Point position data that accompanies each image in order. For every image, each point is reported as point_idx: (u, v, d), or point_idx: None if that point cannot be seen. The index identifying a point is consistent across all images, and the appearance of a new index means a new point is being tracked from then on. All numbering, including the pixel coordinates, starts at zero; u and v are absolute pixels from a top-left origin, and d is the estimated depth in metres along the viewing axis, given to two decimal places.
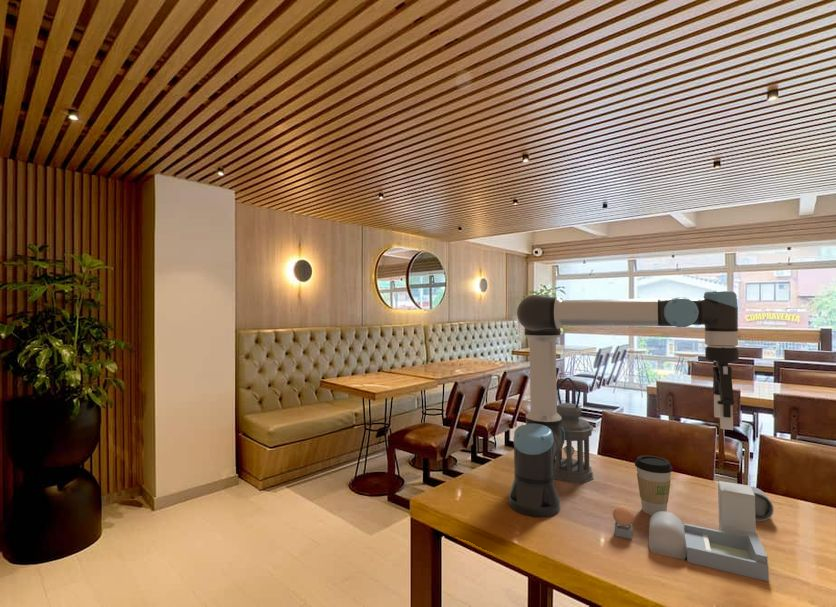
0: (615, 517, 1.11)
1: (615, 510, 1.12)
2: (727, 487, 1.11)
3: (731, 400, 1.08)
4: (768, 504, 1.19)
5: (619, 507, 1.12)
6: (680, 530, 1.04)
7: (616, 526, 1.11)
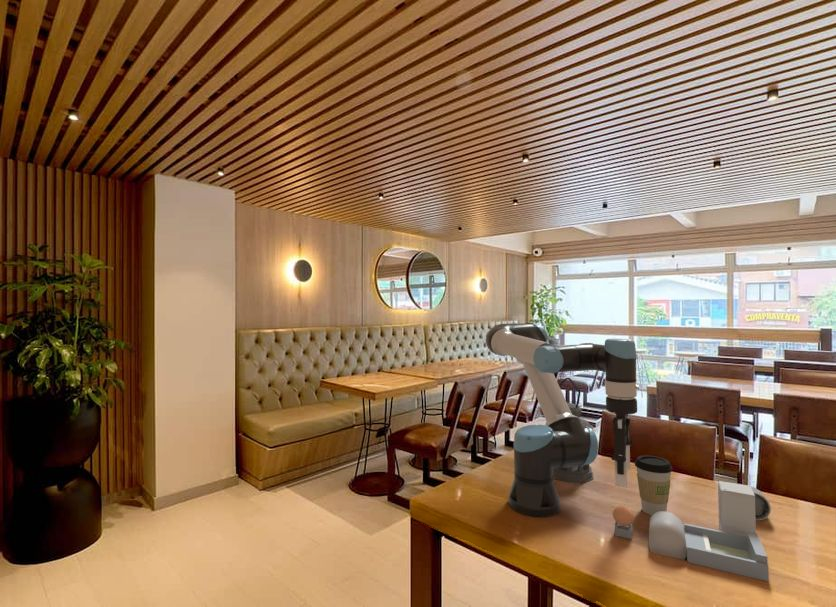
0: (615, 517, 1.11)
1: (615, 510, 1.12)
2: (727, 487, 1.10)
3: (622, 457, 1.03)
4: (765, 504, 1.19)
5: (619, 507, 1.12)
6: (680, 530, 1.04)
7: (616, 526, 1.11)
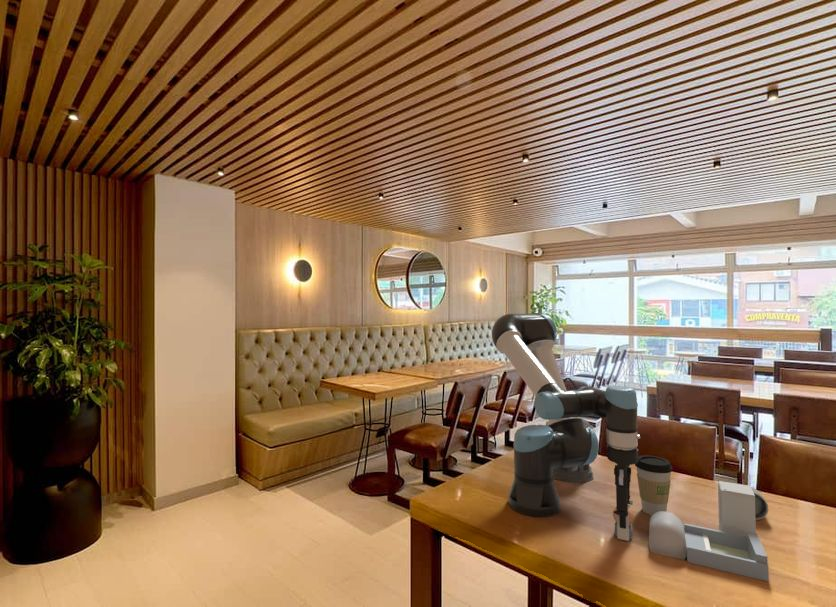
0: (615, 517, 1.11)
1: (615, 510, 1.12)
2: (727, 487, 1.10)
3: (625, 514, 1.06)
4: (763, 503, 1.20)
5: None
6: (680, 530, 1.04)
7: (616, 526, 1.11)
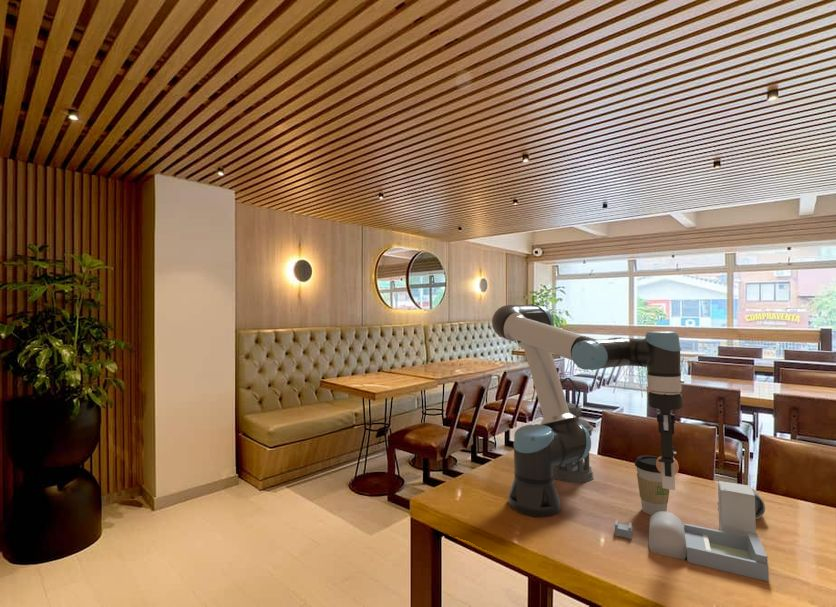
0: (659, 467, 1.06)
1: None
2: (727, 487, 1.11)
3: (671, 460, 1.01)
4: (760, 503, 1.20)
5: None
6: (680, 530, 1.04)
7: (616, 526, 1.11)
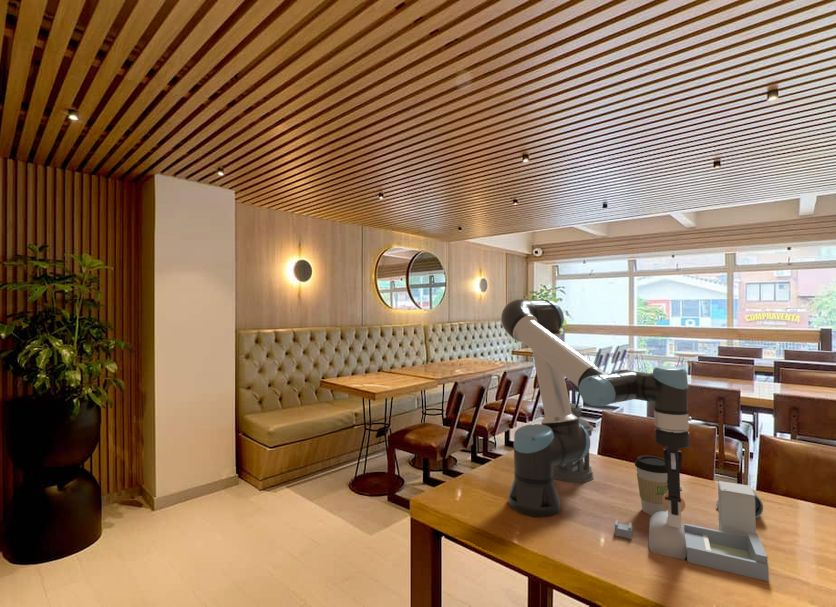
0: (665, 504, 1.05)
1: (665, 496, 1.06)
2: (727, 487, 1.10)
3: (678, 499, 1.00)
4: (758, 502, 1.20)
5: None
6: (680, 530, 1.04)
7: (616, 526, 1.11)
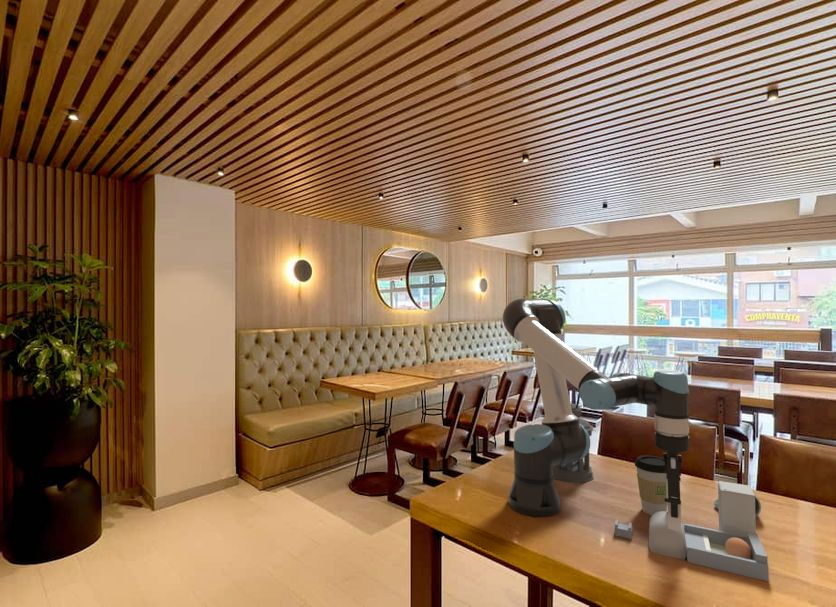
0: (731, 555, 0.98)
1: (727, 547, 0.99)
2: (727, 487, 1.10)
3: (678, 500, 0.97)
4: (756, 502, 1.20)
5: (729, 542, 0.99)
6: None
7: (616, 526, 1.11)
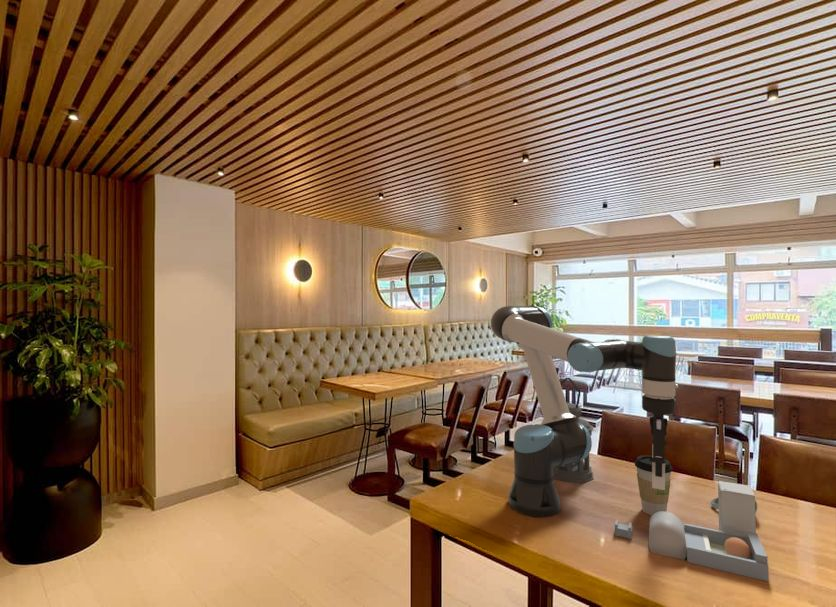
0: (731, 555, 0.98)
1: (726, 547, 1.00)
2: (727, 487, 1.10)
3: (662, 459, 0.99)
4: None
5: (728, 542, 1.00)
6: (680, 530, 1.04)
7: (616, 526, 1.11)
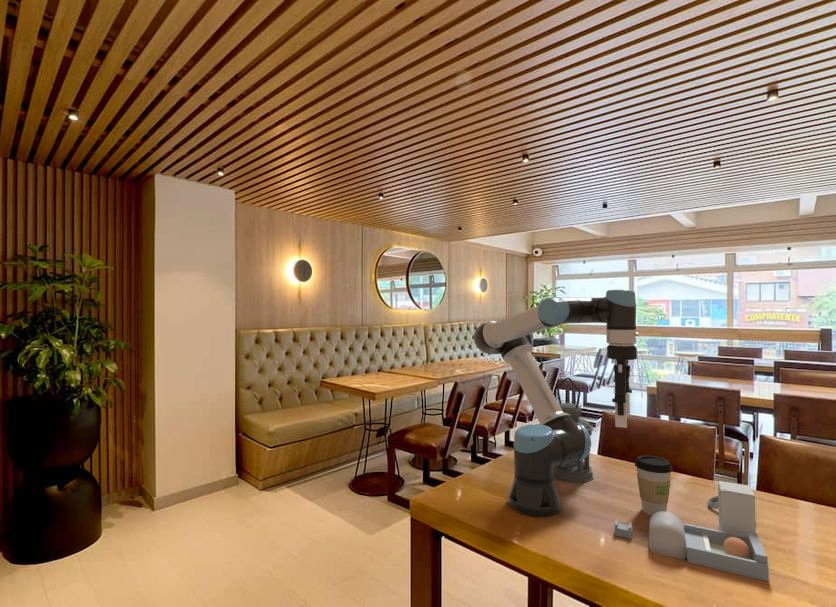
0: None
1: (725, 548, 1.00)
2: (727, 487, 1.10)
3: (623, 398, 1.08)
4: None
5: (726, 543, 1.00)
6: (680, 530, 1.04)
7: (616, 526, 1.11)
